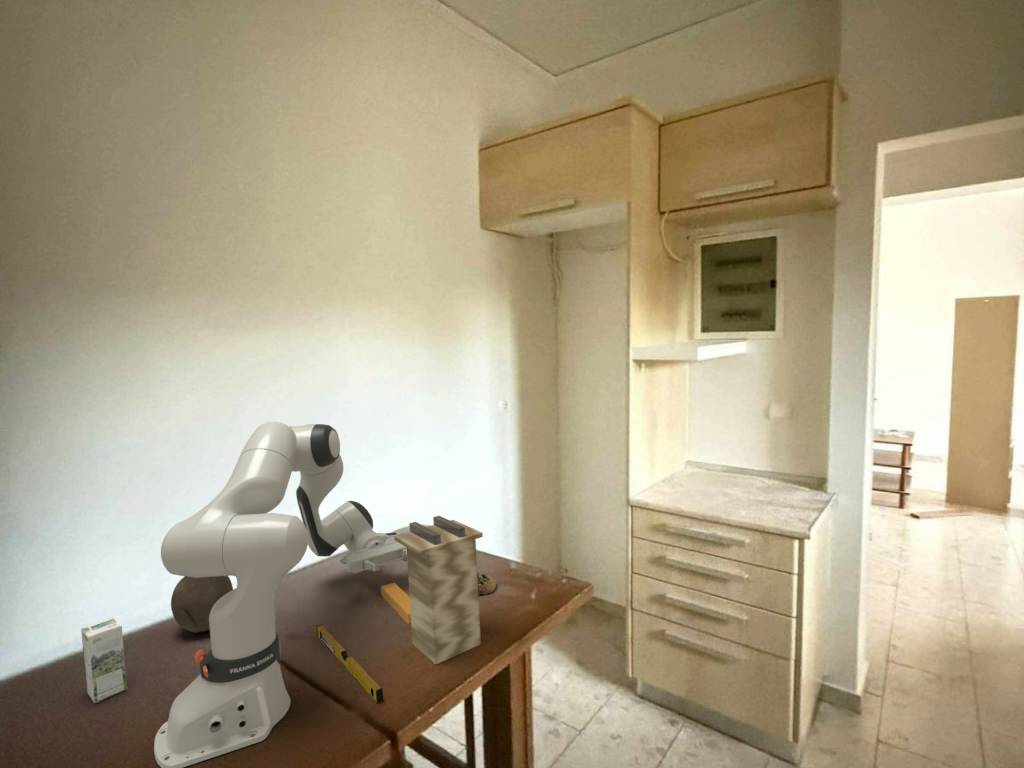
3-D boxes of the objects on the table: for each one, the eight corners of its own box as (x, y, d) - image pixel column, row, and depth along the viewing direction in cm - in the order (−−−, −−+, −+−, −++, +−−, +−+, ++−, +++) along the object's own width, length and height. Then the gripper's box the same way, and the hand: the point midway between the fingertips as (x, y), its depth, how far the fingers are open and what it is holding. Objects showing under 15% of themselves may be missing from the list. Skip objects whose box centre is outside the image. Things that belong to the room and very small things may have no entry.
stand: (427, 668, 113) (419, 542, 111) (400, 643, 123) (393, 527, 122) (487, 640, 123) (482, 524, 121) (458, 619, 133) (452, 512, 131)
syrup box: (120, 680, 114) (113, 615, 113) (128, 690, 110) (121, 623, 109) (87, 694, 110) (80, 627, 109) (94, 705, 106) (87, 636, 105)
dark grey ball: (247, 622, 137) (242, 566, 136) (189, 649, 125) (184, 588, 124) (219, 609, 145) (215, 556, 144) (162, 633, 133) (157, 576, 132)
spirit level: (383, 702, 103) (382, 687, 103) (377, 705, 102) (376, 691, 102) (322, 635, 129) (322, 624, 129) (317, 637, 128) (316, 626, 128)
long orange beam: (408, 625, 132) (407, 614, 132) (381, 596, 149) (380, 586, 149) (423, 620, 134) (422, 609, 134) (394, 592, 151) (394, 582, 151)
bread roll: (451, 593, 148) (452, 575, 148) (470, 582, 158) (471, 565, 158) (485, 601, 143) (486, 582, 143) (503, 589, 153) (504, 572, 153)
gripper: (337, 548, 148) (355, 562, 137) (403, 530, 160) (425, 542, 149) (338, 569, 148) (356, 586, 137) (404, 550, 161) (426, 563, 150)
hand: (393, 563), depth 144 cm, fingers open, 8 cm apart
